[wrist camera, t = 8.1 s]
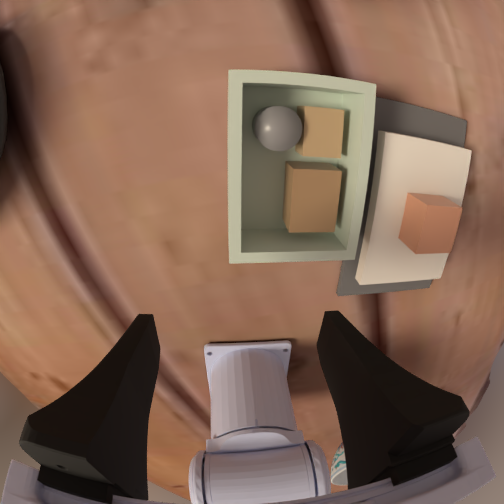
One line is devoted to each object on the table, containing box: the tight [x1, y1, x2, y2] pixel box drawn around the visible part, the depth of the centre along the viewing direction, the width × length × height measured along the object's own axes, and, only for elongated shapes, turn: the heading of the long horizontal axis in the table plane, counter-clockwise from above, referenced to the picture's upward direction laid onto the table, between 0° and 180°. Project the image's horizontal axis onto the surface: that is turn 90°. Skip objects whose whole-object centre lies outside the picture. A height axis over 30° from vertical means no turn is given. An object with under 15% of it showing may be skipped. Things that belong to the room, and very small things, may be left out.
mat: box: [336, 97, 467, 296], centre depth 21 cm, size 16×10×1 cm, turn 179°
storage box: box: [228, 70, 376, 263], centre depth 17 cm, size 11×8×4 cm
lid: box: [355, 130, 472, 285], centre depth 19 cm, size 11×8×4 cm
